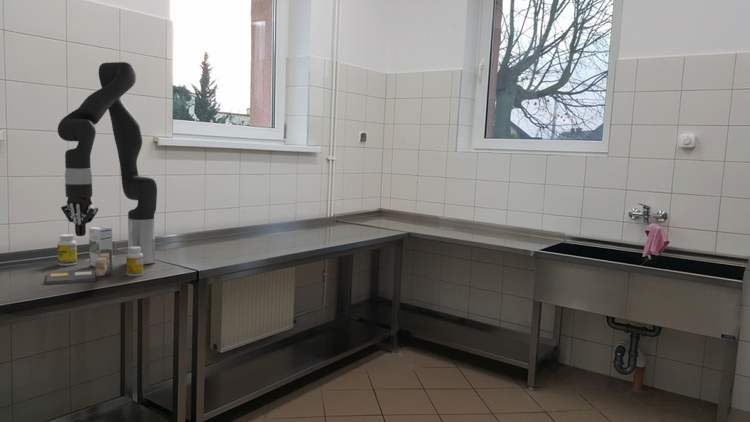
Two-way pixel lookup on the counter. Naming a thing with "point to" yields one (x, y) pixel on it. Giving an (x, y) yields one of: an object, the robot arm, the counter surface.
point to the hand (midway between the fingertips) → (80, 235)
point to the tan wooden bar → (103, 261)
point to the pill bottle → (67, 250)
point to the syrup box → (99, 242)
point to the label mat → (70, 276)
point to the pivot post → (108, 271)
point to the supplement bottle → (134, 261)
